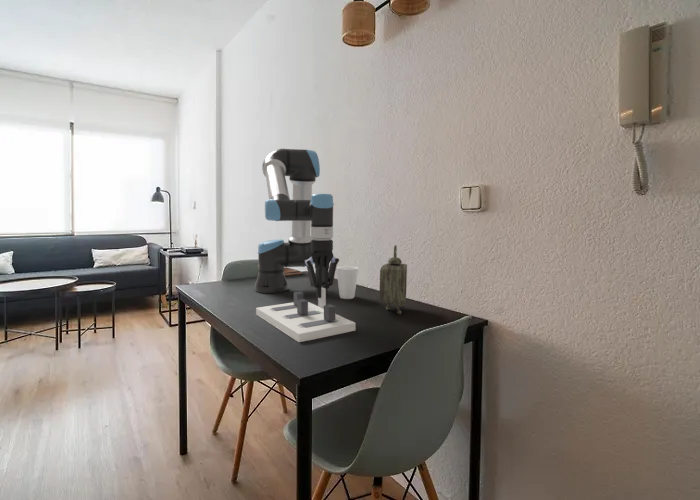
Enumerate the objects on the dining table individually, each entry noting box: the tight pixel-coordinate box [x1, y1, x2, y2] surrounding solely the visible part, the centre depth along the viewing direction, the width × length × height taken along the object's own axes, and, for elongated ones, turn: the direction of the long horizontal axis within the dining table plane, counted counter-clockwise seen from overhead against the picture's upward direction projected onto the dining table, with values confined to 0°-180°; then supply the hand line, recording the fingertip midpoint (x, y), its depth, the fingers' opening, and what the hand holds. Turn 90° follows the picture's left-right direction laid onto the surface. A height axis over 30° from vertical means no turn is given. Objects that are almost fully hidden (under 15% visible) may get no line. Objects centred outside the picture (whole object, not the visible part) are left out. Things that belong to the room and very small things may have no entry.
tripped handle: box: [297, 298, 309, 315], centre depth 129 cm, size 3×2×4 cm
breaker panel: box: [255, 301, 356, 343], centre depth 129 cm, size 34×20×3 cm, turn 34°
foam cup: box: [335, 265, 359, 300], centre depth 165 cm, size 10×9×13 cm
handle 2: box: [323, 304, 336, 321], centre depth 122 cm, size 3×2×4 cm
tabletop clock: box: [379, 244, 408, 315], centre depth 144 cm, size 14×9×25 cm, turn 168°
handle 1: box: [293, 291, 304, 306], centre depth 140 cm, size 3×2×4 cm
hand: (321, 306), depth 133 cm, fingers closed
